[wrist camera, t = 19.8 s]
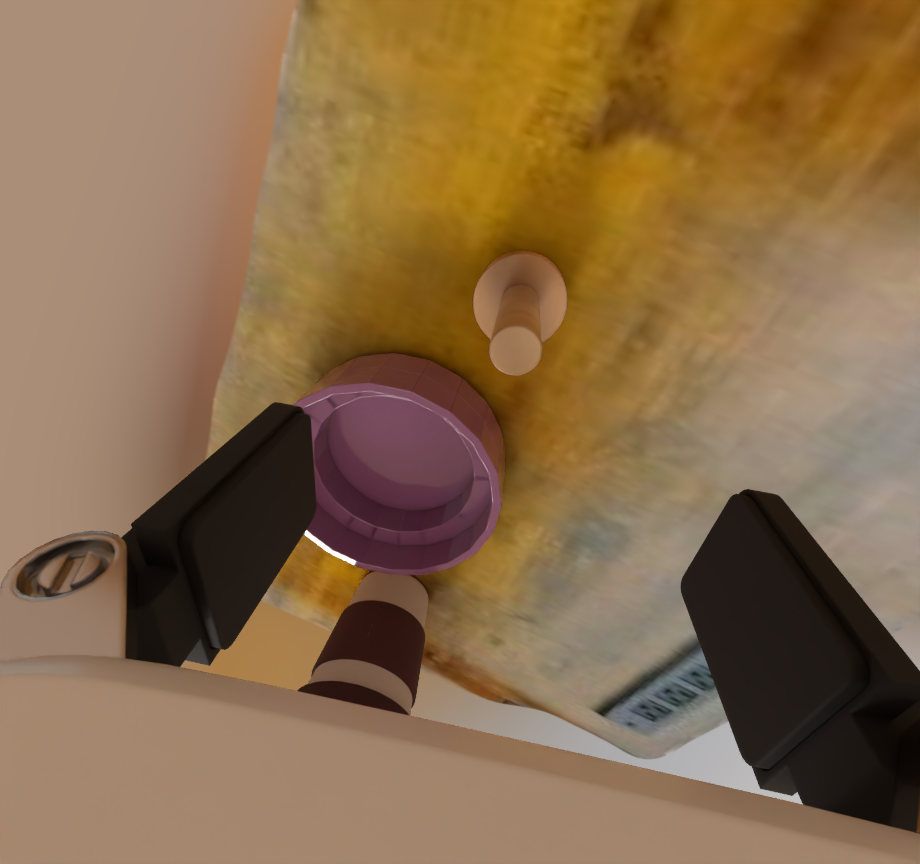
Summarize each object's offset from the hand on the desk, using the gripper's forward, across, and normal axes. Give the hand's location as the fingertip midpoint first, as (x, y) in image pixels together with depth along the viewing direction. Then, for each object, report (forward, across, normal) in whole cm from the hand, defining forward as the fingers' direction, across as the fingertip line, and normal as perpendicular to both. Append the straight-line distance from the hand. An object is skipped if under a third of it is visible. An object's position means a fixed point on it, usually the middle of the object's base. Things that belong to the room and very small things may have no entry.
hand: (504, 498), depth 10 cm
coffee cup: (+20, +7, +31) cm, 38 cm away
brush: (+20, 0, 0) cm, 20 cm away
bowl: (+20, +7, +13) cm, 25 cm away
